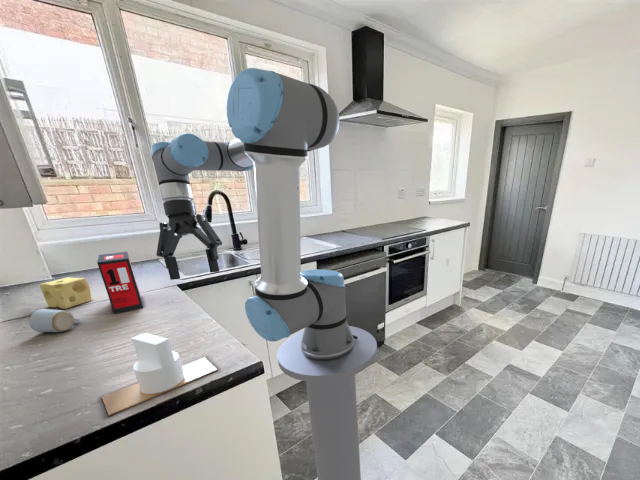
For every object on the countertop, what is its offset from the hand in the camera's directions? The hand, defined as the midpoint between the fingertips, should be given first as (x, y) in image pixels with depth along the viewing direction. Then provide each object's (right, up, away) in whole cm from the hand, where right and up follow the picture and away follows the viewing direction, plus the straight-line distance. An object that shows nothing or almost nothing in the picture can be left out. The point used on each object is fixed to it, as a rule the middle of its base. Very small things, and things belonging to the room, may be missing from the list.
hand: (195, 275), depth 89 cm
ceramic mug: (-56, -18, +16) cm, 61 cm away
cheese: (-75, -10, +39) cm, 85 cm away
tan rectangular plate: (0, -27, -13) cm, 30 cm away
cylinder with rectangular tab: (0, -27, -13) cm, 30 cm away
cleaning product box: (-50, -10, +37) cm, 63 cm away
